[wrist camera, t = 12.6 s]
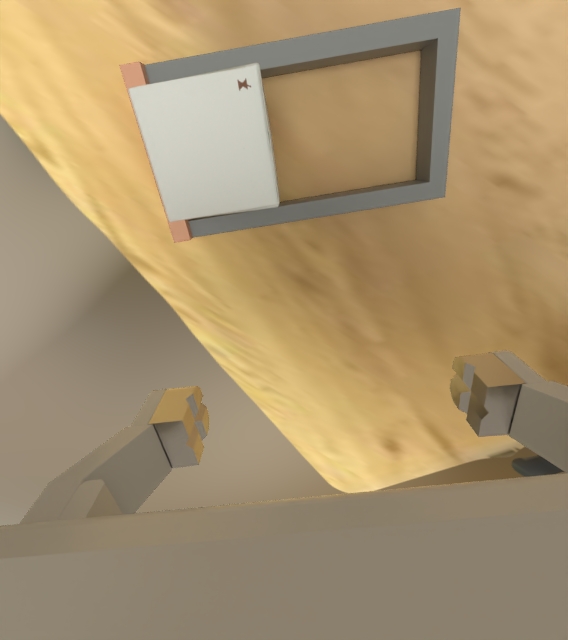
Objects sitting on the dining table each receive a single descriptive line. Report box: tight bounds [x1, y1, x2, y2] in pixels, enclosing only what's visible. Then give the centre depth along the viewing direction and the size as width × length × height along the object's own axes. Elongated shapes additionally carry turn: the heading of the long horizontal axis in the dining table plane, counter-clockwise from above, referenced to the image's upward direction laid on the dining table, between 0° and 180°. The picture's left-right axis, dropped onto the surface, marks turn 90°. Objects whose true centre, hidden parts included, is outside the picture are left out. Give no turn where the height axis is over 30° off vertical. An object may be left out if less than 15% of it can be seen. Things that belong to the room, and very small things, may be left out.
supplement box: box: [128, 63, 280, 222], centre depth 24 cm, size 7×7×13 cm
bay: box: [119, 8, 461, 243], centre depth 27 cm, size 25×13×4 cm, turn 98°
